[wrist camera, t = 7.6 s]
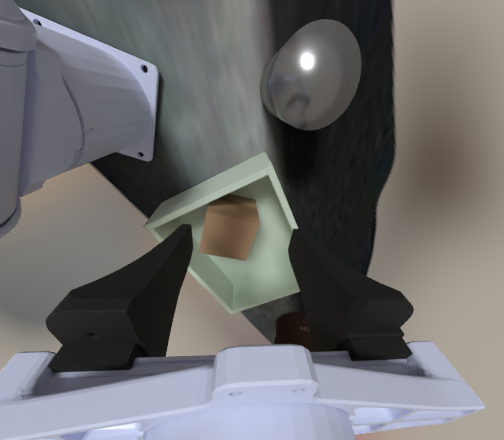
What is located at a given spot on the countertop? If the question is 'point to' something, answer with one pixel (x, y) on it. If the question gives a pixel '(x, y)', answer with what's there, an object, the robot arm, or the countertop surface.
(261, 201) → the green tote
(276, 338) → the coffee mug
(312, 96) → the grey metal cylinder
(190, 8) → the countertop surface
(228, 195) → the brown cube
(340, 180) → the countertop surface
